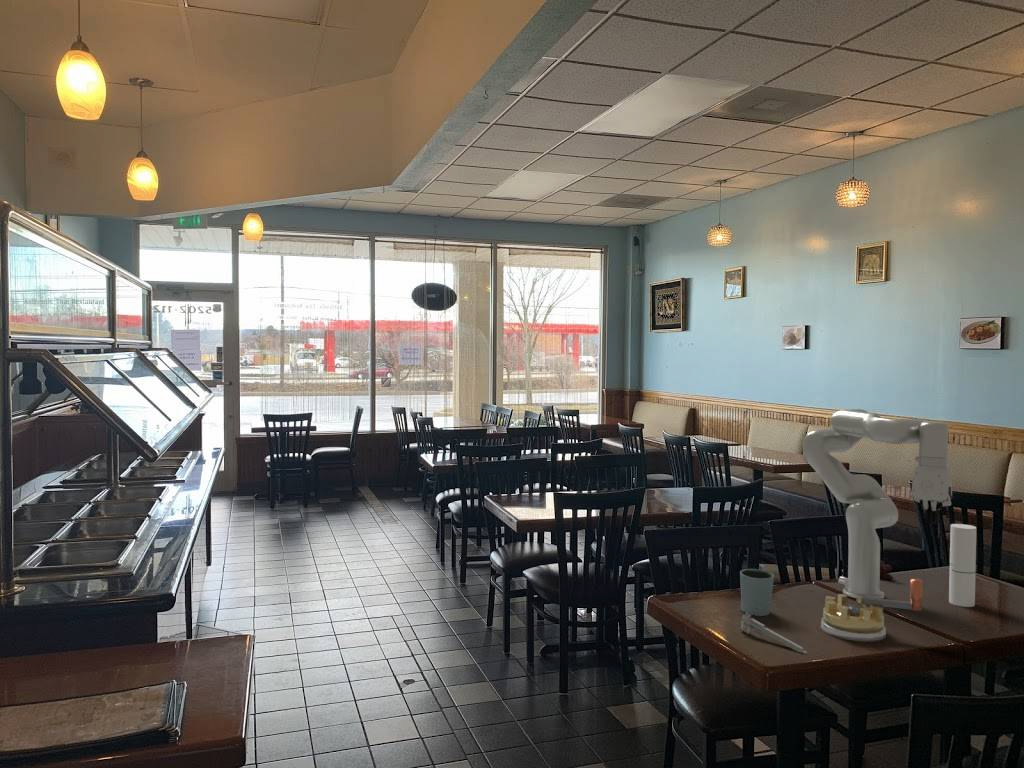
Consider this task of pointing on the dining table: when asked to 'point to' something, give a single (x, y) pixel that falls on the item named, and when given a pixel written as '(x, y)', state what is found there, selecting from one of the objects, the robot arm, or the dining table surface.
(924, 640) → the dining table surface
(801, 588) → the dining table surface
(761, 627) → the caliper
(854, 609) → the crank handle mechanism
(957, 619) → the dining table surface
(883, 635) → the plate
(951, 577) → the cylindrical container
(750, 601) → the grey green cup
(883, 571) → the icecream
